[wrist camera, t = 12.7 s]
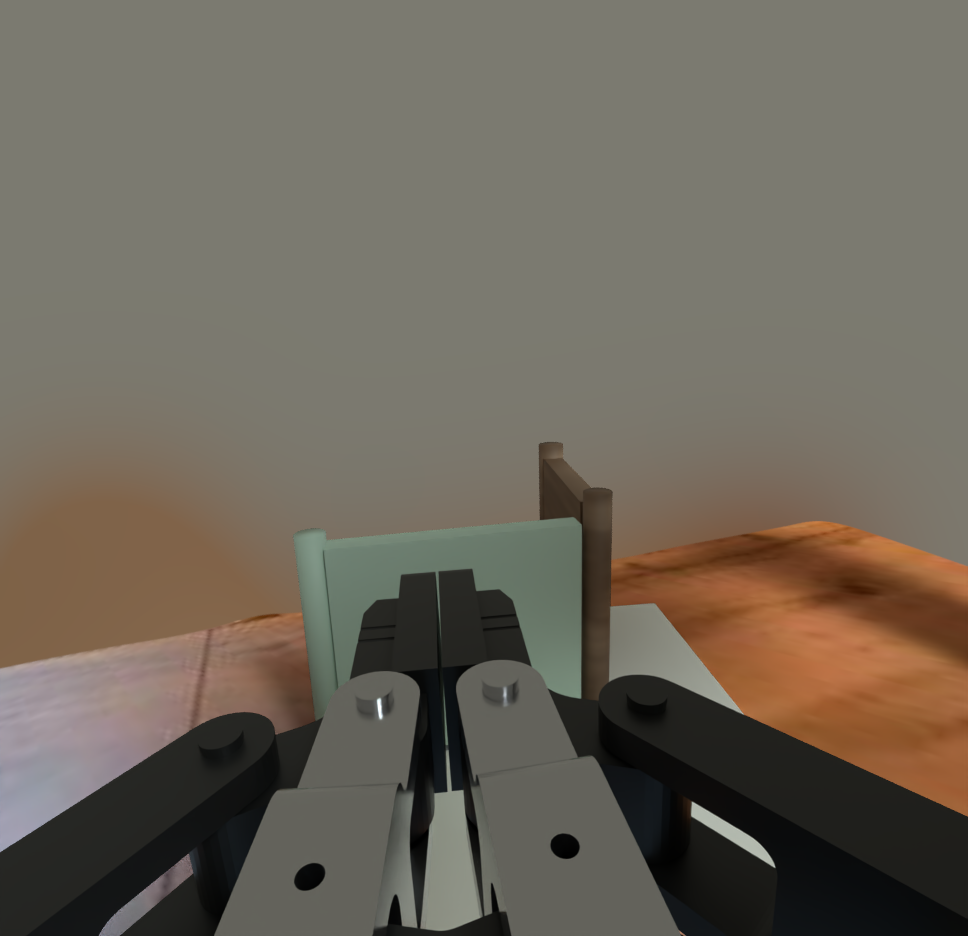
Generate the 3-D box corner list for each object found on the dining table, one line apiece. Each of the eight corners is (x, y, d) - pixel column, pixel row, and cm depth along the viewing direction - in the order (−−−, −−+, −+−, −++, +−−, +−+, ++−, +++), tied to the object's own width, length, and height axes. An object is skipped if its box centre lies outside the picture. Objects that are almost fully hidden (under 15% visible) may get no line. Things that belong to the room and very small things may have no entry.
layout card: (654, 608, 45) (654, 602, 45) (877, 891, 23) (879, 880, 22) (343, 631, 43) (343, 625, 43) (253, 965, 21) (251, 954, 21)
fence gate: (573, 709, 32) (573, 504, 30) (581, 725, 31) (582, 513, 28) (321, 746, 30) (295, 530, 27) (318, 766, 29) (291, 540, 26)
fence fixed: (560, 612, 44) (560, 441, 41) (613, 728, 31) (618, 494, 28) (539, 613, 44) (536, 442, 41) (583, 730, 31) (584, 496, 28)
